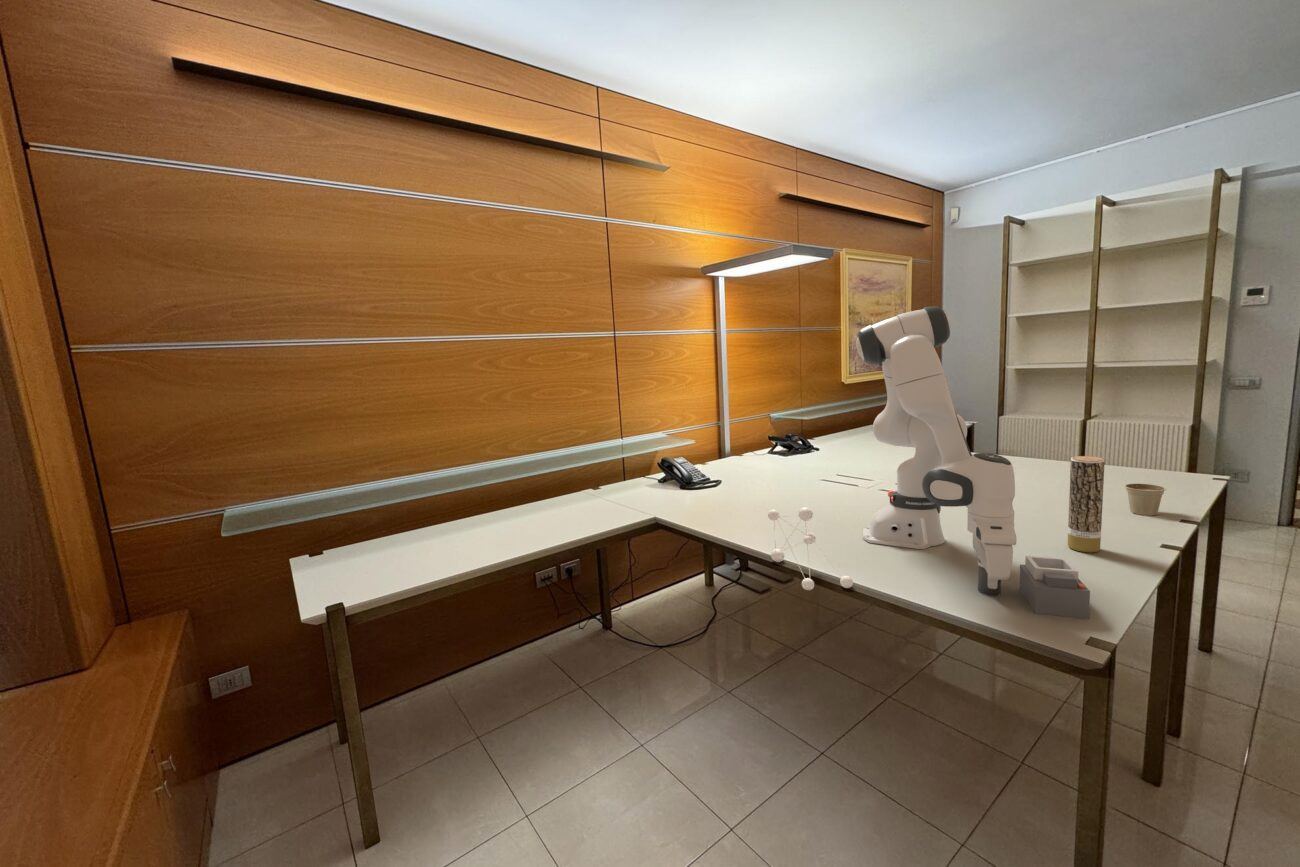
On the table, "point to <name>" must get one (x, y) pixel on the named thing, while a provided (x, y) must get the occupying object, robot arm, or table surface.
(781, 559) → the molecule model
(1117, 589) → the table surface
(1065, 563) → the desk organizer caddy
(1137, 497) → the flower pot
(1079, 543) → the paper tube
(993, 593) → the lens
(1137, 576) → the table surface
